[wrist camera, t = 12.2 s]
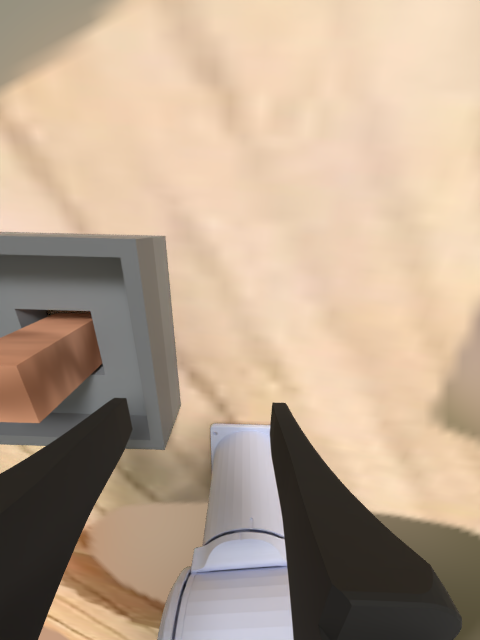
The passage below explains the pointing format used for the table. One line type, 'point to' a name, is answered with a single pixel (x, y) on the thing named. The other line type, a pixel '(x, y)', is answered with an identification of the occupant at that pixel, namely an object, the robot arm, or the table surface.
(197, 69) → the table surface
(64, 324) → the peg
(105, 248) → the hole box
